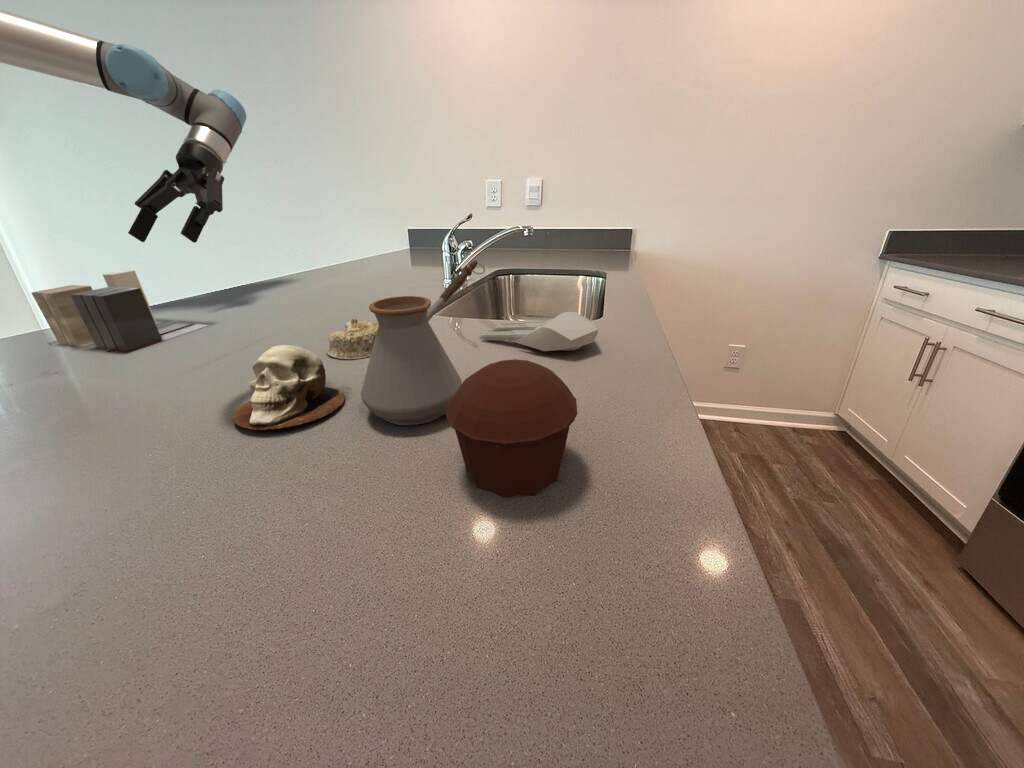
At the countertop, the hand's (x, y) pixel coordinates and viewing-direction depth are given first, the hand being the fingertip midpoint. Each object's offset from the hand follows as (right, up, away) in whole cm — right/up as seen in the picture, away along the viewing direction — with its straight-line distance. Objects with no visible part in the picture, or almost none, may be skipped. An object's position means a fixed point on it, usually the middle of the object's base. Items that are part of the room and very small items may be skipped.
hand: (161, 238), depth 81 cm
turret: (+74, -23, -13) cm, 79 cm away
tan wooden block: (-3, -21, -6) cm, 22 cm away
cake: (+44, -23, -13) cm, 52 cm away
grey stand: (+6, -22, -8) cm, 24 cm away
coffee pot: (+61, -30, -28) cm, 73 cm away
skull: (+43, -32, -31) cm, 62 cm away
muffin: (+70, -37, -43) cm, 90 cm away
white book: (-2, -18, -2) cm, 18 cm away
